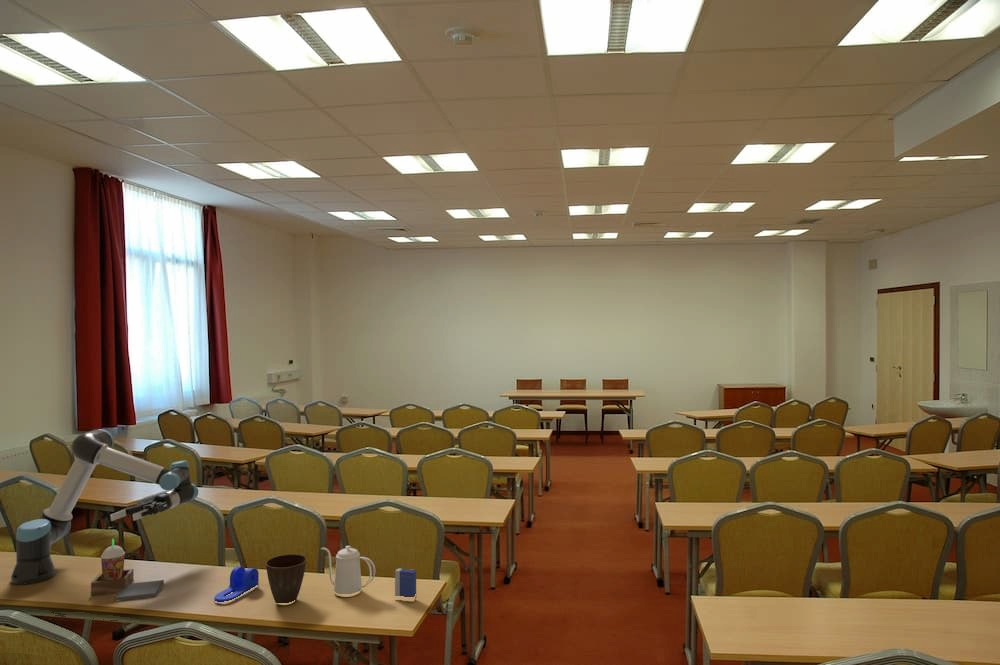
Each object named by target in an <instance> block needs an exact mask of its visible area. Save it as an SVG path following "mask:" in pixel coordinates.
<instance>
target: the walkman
mask: <svg viewBox="0 0 1000 665" xmlns="http://www.w3.org/2000/svg"><path fill="white" fill-rule="evenodd" d="M394 575H395V576H394V597H395V596H404V597H414V596H415V594H416V595H417V570H416V569H414V568H410V569H408V568H407V569H406V568H401V567H399V568H397V569H396V570H394Z"/></svg>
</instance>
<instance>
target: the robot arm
mask: <svg viewBox="0 0 1000 665" xmlns="http://www.w3.org/2000/svg"><path fill="white" fill-rule="evenodd" d="M114 444H115V439H114V436H113V434H112V433H111V432H110V431H109V430H106V429H100V428H99V429H92V430H91V431H87V432H85V433H82V434H81V433H80V434H78V436H77V437H75V438H74V439H73V441H72V442H71V445H70V446H71V452H72V454H73V457H74V461H73V463H72V465H71V467H70V468H69V470H68V472H67V474H66V477H65V478H64V479H63V482H62V484H61V486H60V488H59V489H58V491H57V493H56V495H55V497H54V499H53V501H52V502H51V504H50V506H49V507H47V508H45V509H44V510H43V512H42V513H41V515H40V518H38V519H33V520H30V521H26V522H23V523H22V524H20V525H18V528H17V529H16V534H15V537H16V538H15V539H16V552H15V553H16V554H15V555H16V556H15V557H16V563H15V565H14V568H13V570H12V573H11V575H10V583H11V582H12V583H11V584H13V583H15V584H14V585H25V584H24V583H31V584H35V583H34V582H36V583H40V582H43V581H46V580H48V578H49V579H51V578H53V577H54V576H55V575H56V567H55V565H54V562H53V560H52V556H51V547H52V545H53V544H54V543H56V542H58V541H60V540H61V539H64V537H65V536H66V535H67V534H68V532H69V531H70V530H71V526H72V522H71V521H72V520H73V514H72V512H73V509H74V508H75V507H76V504H77V502H78V501H79V498H80V496H81V494H82V492H83V490H84V489H85V487H86V485H87V483H88V481H89V480H90V477H91V475H92V473H93V471H94V469H95V468H96V466H97V465H102V466H105V467H108V468H111V469H114V470H116V471H119V472H121V473H124V474H128V475H130V476H133V477H136V478H139V479H141V480H145V481H147V482H150V483H153V484H156V485H159V487H160V488H161V489H162V490H165V491H166V492H163V493H161V494H158V495H156V496H155V497H153V499H152V501H148V502H142V503H139V504H136V505H132V506H129V507H125V508H122V509H121V510H119V511H117V512H114V513H111V514H110V515H109V516H110V522H113V521H116V520H118V519H122V518H126V517H127V516H128V515H132V521H138V520H140V519H143V518H145V517H147V516H152V515H156V514H158V513H162V512H165V511H167V510H171V509H172V510H173V509H175V507H178V506H180V505H183V504H185V503H189V502H191V501H193V500H195V499H196V498H197V497H198V496H199V488H198V487H197V485H196V484H195V483H192V481H191V473H190V466H189V462H188V460H179V461H174V462H172V463H170V465H169V467H170V469H169V468H166V467H164V466H161V465H159V464H156V463H154V462H153V463H152V462H151V461H148V460H145V459H142V458H139V457H137V456H134V455H131V454H128V453H125V452H123V451H119V450H117V449H114ZM53 575H54V576H53ZM52 576H53V577H52ZM50 577H51V578H50ZM45 579H46V580H45ZM42 580H43V581H42ZM39 581H40V582H39Z"/></svg>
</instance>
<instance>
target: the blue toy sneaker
mask: <svg viewBox="0 0 1000 665" xmlns="http://www.w3.org/2000/svg"><path fill="white" fill-rule="evenodd" d="M259 577H260V576H259V570H258V569H257V568H255V567H248V568H247V569H246V568H245V567H244V566H239V565H238V566H234V567H233V568H232V570H231V572H230V575H229V585H228V587H227V588H226V589H224V590H222V591H220V592H218V593H216V594H215V595H214V602H215V601H217V602H224V601H229V600H232V599H234V598H236V597H238V596H240V595H241V594H243V593H244V592H246V591H248V590H250V589H251V588H253V587H255V586H256V585H258V586H259ZM231 592H233V593H232V594H230V593H231ZM228 594H230V595H228ZM226 595H228V596H226Z"/></svg>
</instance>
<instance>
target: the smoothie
mask: <svg viewBox="0 0 1000 665" xmlns="http://www.w3.org/2000/svg"><path fill="white" fill-rule="evenodd" d="M125 554H126V552H125V551H124V549H123V548H122V546H120V545H115V539H114V538H112V539H111V545H110V546H107V548H105V549H104V550H103V552H102V554H101V555H100V559H101V561H100V562H101V572H102V578H103V581H107V580H117V579H123V570H125V569H124V568H125V556H126V555H125Z"/></svg>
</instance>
